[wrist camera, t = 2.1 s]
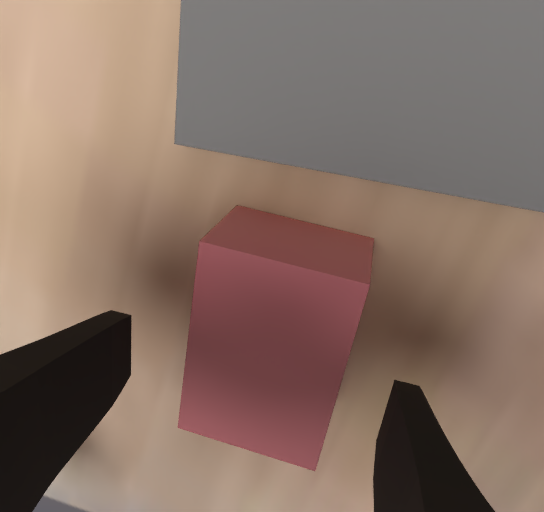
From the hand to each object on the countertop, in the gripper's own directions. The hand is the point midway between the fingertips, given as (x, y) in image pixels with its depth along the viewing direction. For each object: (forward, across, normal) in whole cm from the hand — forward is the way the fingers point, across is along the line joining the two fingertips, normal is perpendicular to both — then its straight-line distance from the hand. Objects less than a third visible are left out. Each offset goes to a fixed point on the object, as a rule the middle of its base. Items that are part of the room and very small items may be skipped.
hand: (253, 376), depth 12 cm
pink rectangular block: (+4, 0, 0) cm, 4 cm away
